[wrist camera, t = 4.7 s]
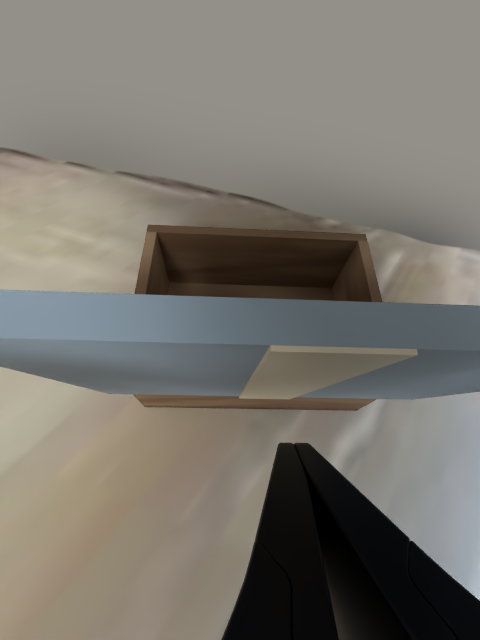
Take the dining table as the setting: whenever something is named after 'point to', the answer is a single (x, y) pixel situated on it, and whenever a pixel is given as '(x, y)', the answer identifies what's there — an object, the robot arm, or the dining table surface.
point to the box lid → (241, 345)
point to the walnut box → (256, 284)
